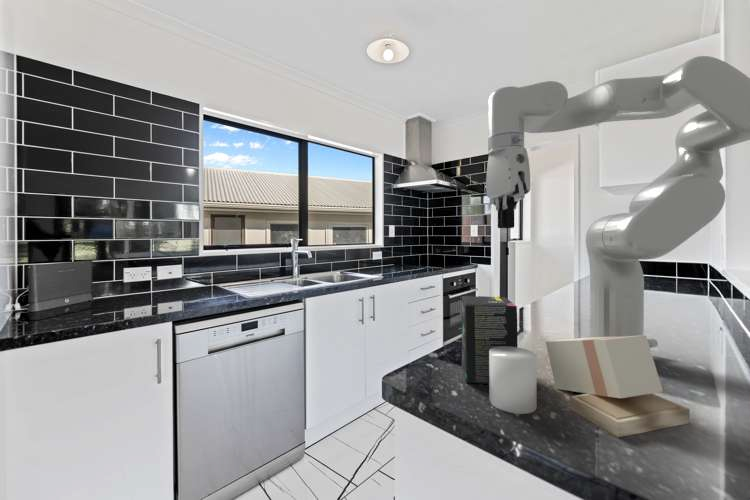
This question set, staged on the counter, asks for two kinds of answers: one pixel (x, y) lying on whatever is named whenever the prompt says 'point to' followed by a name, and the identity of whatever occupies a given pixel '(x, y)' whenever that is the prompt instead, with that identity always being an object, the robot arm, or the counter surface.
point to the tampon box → (485, 333)
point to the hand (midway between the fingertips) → (505, 227)
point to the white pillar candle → (513, 379)
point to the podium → (629, 413)
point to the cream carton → (604, 366)
